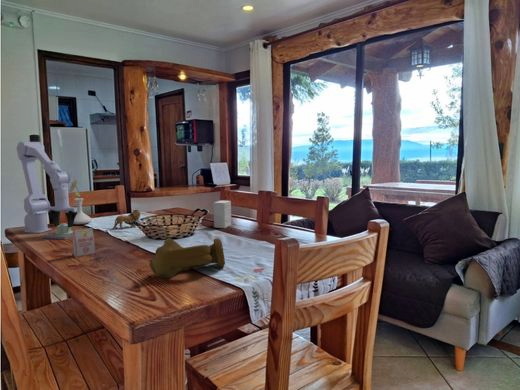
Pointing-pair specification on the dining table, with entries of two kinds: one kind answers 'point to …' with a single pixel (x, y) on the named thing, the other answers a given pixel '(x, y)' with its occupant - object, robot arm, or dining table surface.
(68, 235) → the post stand
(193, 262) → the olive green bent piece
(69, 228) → the ring
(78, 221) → the flower in vase
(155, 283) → the dining table surface
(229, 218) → the small box
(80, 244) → the grey printed carton
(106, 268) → the dining table surface
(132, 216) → the lion figurine
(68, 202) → the robot arm
